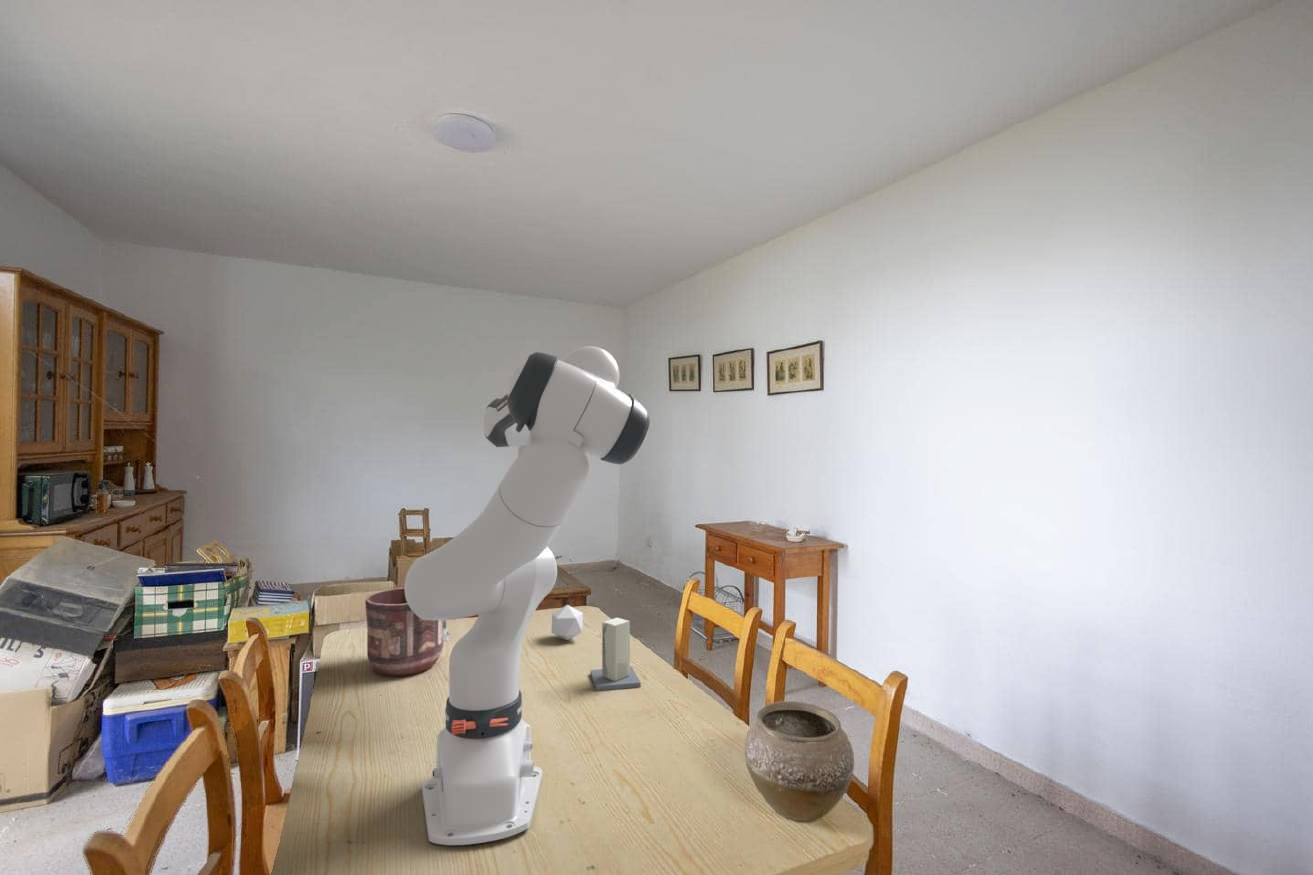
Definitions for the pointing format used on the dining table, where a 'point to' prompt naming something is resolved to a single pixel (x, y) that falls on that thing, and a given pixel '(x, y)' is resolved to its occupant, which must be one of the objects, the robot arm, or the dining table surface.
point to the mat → (608, 684)
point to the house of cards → (445, 632)
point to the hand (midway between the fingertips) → (537, 521)
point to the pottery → (400, 636)
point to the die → (567, 622)
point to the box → (615, 649)
